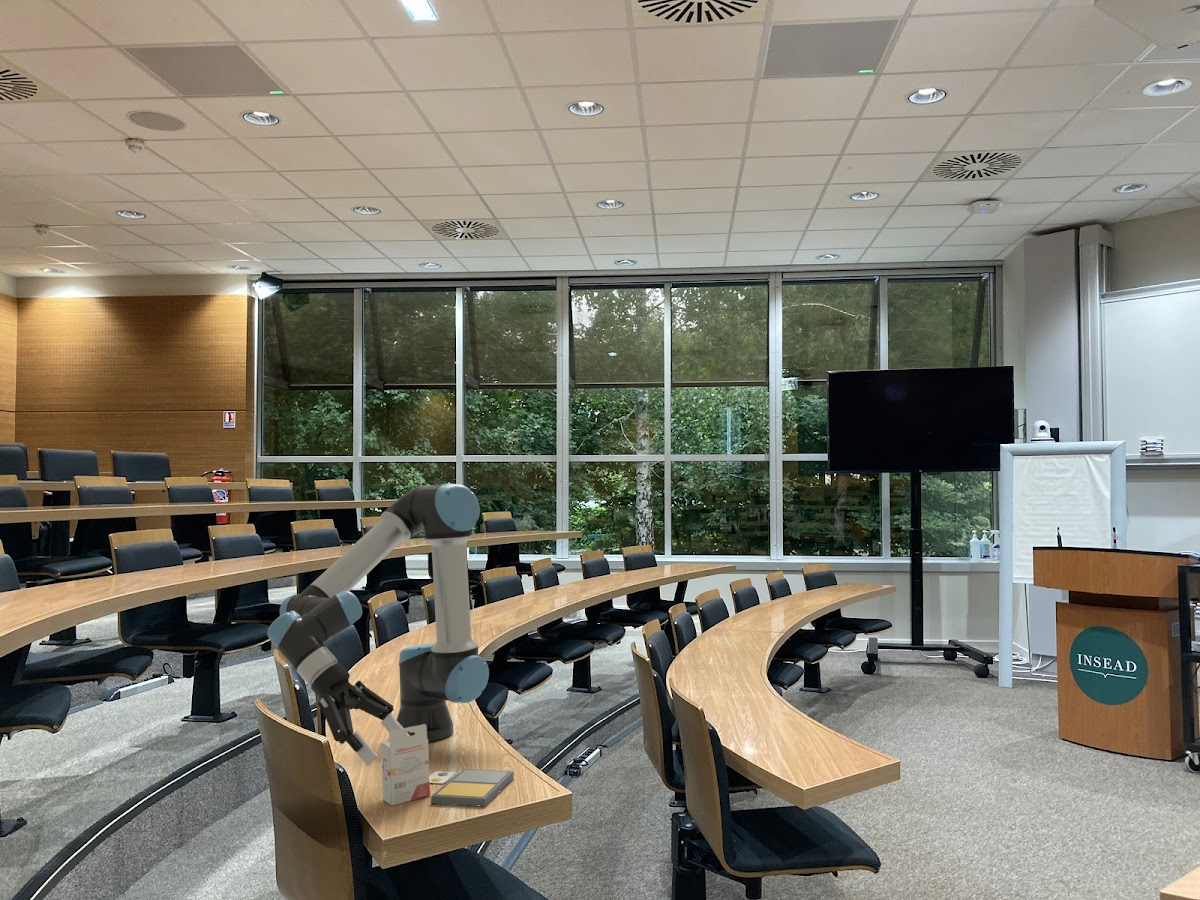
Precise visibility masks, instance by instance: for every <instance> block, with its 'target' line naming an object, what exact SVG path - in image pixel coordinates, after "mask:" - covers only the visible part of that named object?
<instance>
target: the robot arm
mask: <svg viewBox="0 0 1200 900" xmlns="http://www.w3.org/2000/svg"><path fill="white" fill-rule="evenodd" d="M480 513H481V508H480V503H479V500H478V498H477V496H476V494H475V493H474V492H473V491H472V490H471V489H470V488H469V487H467V486H465V485H463V484H459V483H458V484H456V483H442V484H428V485H427V484H425V485H420V486H419V485H418V486H416V487H414V488H412V489H410V490H408V491H407V492H405V493H404V494H403V495H401V497H399V498H398V499H397V500H395V501H394V502H393V503H392V504H390V506H389V507H387V508H386V510H384V511H383V512H382V513H381V514H380V520H379V521H378V522H377V523H376V524H375V525H373V527H371V528H370V529H369V530H368V531H367V532H365V534H363V536H362V537H361V538H359V539H358V540H357V541H356V542H355V543H354V544H353V545H352V546H351V547H350V548H349V549H348V550H346V551H345V552H344V554H342V555H341V556H340V557H339V558H338V559H337V560H336V561H334V563H332V565H330V566H329V567H328V568H327V569H326V570H325V571H324V572H323V573H321V574H320V575H319V576H318V577H317V578H316V579H315V580H314V581H313V582H312V583H311V584H309V585H308V586H307V587H306V588H305V589H304V590H303V591H302V592H300V593H297V594H292V595H290V596H288V597H286V598H285V599H284V600H283V601H282V603H281V604H280V608H279V616H278V617H277V618H276V619H274V621H273V622H272V623H271V624H270V625H269V627H268V629H267V631H266V633H267V637H268V639H269V640H270V642H271V643H272V644H273V646H274V647H275V649H276V650H277V651H278V652H279V653H280V654H281V655H282V656H283V658H285V660H286V661H287V662H288V663H289V664H290V665H291V666H292V667H293V669H294V670H295V671H296V672H297V674H299V676H300V678H301V679H302V680H303V681H304V682H305V683H306V684H307V685H308V686H310V689H311V690H312V692H313V693H314V694H315V695H316V697H318V699H319V701H318V702H317V705H318V706H319V708H320V710H321V711H322V712H323V715H324V716H325V719H326V722H327V724H328V727H329V729H330V732H331V734H332V737H333V740H334V741H335V742H338V743H340V744H342V745H344V744H345V742H346V743H347V744H348V746H350V748H351V749H352V750H353V751H354V752H355V753H356V754H357V755H358V757H359V758H361V760H362V761H363V762H364V764H365V765H366V766H367V767H369V766H370V765H371V764H372V763H373V762H374V761H375V760H376V759H377V757H378V756H379V755H378V753H377V752H376V751H375V750H374V749H373V748H372V746H371V745H370V744H369V743H368V742H367V741H366V739H365V738H364V737H363V736H362V735H361V734H360V732H359V731H358V730H356V731H354V727H353V722H352V716H351V711H352V710H353V709H354V710H360V711H363V712H365V713H367V714H369V715H371V716H373V717H375V718H377V719H379V720H381V722H380V724H381V725H382V726H383V727H384V728H385V730H387V732H388V733H390V731H394V730H399V729H403V728H408V727H413V726H418V725H423V724H425V725H426V728H427V739H428V743H429V742H434V741H439V740H442V739H446V738H449V737H450V736H451V735H453V734H454V722H453V719H452V717H451V713H450V711H449V707H448V705H447V701H448V702H451V703H455V704H457V703H462V704H469V703H470V702H473V701H475V700H477V698H479V697H480V696H481V695H482V693H483V691H484V690H485V689H486V686H487V684H488V682H489V681H488V680H489V675H490V672H489V671H490V669H489V666H488V663H487V661H486V660H485V659H484V658H483V657H482V656H480V655H479V644H478V643H477V641H476V640H474V639H473V638H472V627H471V624H472V623H471V609H470V608H471V607H470V591H469V590H470V589H469V574H468V571H469V570H468V556H467V542H468V541H469V540H470V539H471V538H472V537H473V534H472V528H474V527H475V526H476V524H477V522H478V521H479V518H480ZM421 532H424V540H425V541H426V542H427V543H428V544H429V545H430V546H431V557H432V574H433V576H432V577H433V595H434V597H433V599H434V616H435V630H436V631H435V635H436V641H435V642H433V643H432V642H431V643H425V644H424V643H423V644H419V645H413V646H408V647H404V648H403V649H401V651H400V653H399V660H398V665H399V701H400V702H399V703H400V706H399V710H398V714H397V717H396V718H395V717H394V716H393V714H392V713H393V712H394V705H392V704H391V703H390V702H388V701H387V700H385V699H384V698H382V697H381V696H379V695H378V694H377V693H375V692H374V691H373V690H371V689H369V688H368V687H367V686H366V685H365V684H364V683H363V682H362V681H361V680H357V681H356V682H355V684H352V683H350V682H349V679H350V676H351V675H350V673H349V672H348V670H347V669H346V668H345V667H344V666H343V664H342V663H338V659H337V658H336V656H335V655H334V654H333V653H332V652H331V650H329V648H328V647H327V646H326V645H325V644H324V643H327V642H328V641H329V640H331V639H332V638H333V637H335V636H337V635H338V634H340V633H341V632H343V631H344V630H346V629H348V628H349V627H351V626H352V625H353V624H354V623H356V621H358V620H359V619H361V617H362V615H363V607H362V604H361V602H360V600H359V599H358V597H357V596H356V594H354V593H353V592H351V590H352V589H353V588H354V587H356V586H357V585H358V583H360V581H362V580H363V579H364V578H365V577H366V576H367V575H368V574H369V573H370V572H371V571H372V570H373V569H374V568H375V567H376V566H377V565H378V564H379V563H381V562H382V560H384V559H385V558H386V556H388V555H389V554H390V553H391V552H392V551H393V550H394V549H395V548H396V547H397V546H398V545H400V543H401V542H408V541H410V539H411V538H413V537H414V535H417V534H419V533H421ZM350 710H351V711H350ZM413 735H415V733H414V732H412V733H410V732H407V733H406V734H403V735H402V738H404V737H408V736H413Z"/></svg>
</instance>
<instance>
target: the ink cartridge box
mask: <svg viewBox="0 0 1200 900" xmlns="http://www.w3.org/2000/svg"><path fill="white" fill-rule="evenodd" d="M407 732H410V733H412V732H414V733H415V735H413V736H408V737H404V738H402V735H403V734H406V733H407ZM388 733H389V732H388ZM380 750H381V752H380V755H381V756H380V757H381V786H382V787H381V788H382V800H383V802H386V803H387V804H388V805H390V806H396V805H400V804H405V803H407V801H408V802H412V801H415V799H416V800H418V798H419V799H423V798H426V797H425V796H427V797H429V796H430V794H431V787H430V786H431V784H430V783H429V776H430V761H429V757H430V756H429V755H430V753H429V742H428V739H427V728H426V725H425V724H423V725H418V726H413V727H408V728H403V729H399V730H394V731H390V733H389V740H386V741H381V742H380ZM422 797H423V798H422ZM411 800H412V801H411Z"/></svg>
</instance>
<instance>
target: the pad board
mask: <svg viewBox="0 0 1200 900" xmlns="http://www.w3.org/2000/svg"><path fill="white" fill-rule="evenodd" d="M514 775H515V773H514V771H513V770H494V769H473V768H472V769H471V768H469V769H468V768H463V769H462V770H460V771H459V772H458V773H457V774H456V775H454V776H453V777H452V778H451V779H450V780H448V781H447V782H446V783H445V784H444V785H442V786H441V787H440V788H439V789H438V790H436V791H435V792H434V793H433V794H432V795H431V796H430V801H431V802H430V803H435V804H434V805H446V804H456V805H455V806H463V805H480V806H479V807H481V806H486V805H487V804H488V803H489V802H490V801H491V800H492V799H493V798H494V797H495V796H496V795H497V794H498V793H499V791H501V790H502V789H503V788H504V787H505V785H507V784H508V783H509V782H510V781H511V780H512V779H513V778H514V777H515V776H514ZM514 779H515V778H514ZM514 779H513V780H514ZM513 780H512V781H513ZM512 781H511V782H512ZM511 782H510V783H511ZM508 785H509V784H508ZM508 785H507V786H508ZM505 788H506V787H505ZM505 788H504V789H505ZM504 789H503V790H504ZM503 790H502V791H503ZM502 791H501V792H502ZM499 794H500V793H499ZM499 794H498V795H499ZM498 795H497V796H498ZM497 796H496V797H497ZM496 797H495V798H496ZM495 798H494V799H495ZM494 799H493V800H494ZM493 800H492V801H493ZM492 801H491V802H492ZM491 802H490V803H491ZM436 803H437V804H436ZM490 803H489V804H490ZM489 804H488V805H489ZM488 805H487V806H488ZM487 806H486V807H487Z"/></svg>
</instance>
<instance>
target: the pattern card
mask: <svg viewBox="0 0 1200 900" xmlns="http://www.w3.org/2000/svg"><path fill="white" fill-rule="evenodd" d="M456 773H457V772H455V771H438V770H437V771H436V770H435V771H434V772H433V773H432V774H429V783H437V784H436V785H443V784H444V783H445V782H446V783H447V782H449V781H450V780H451V779H452V778H453V777H455V776H456V775H457V774H458V773H457V774H456ZM455 774H456V775H455ZM452 776H453V777H452ZM451 777H452V778H451ZM450 778H451V779H450ZM449 779H450V780H449ZM446 783H445V784H446ZM445 784H444V785H445Z"/></svg>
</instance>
